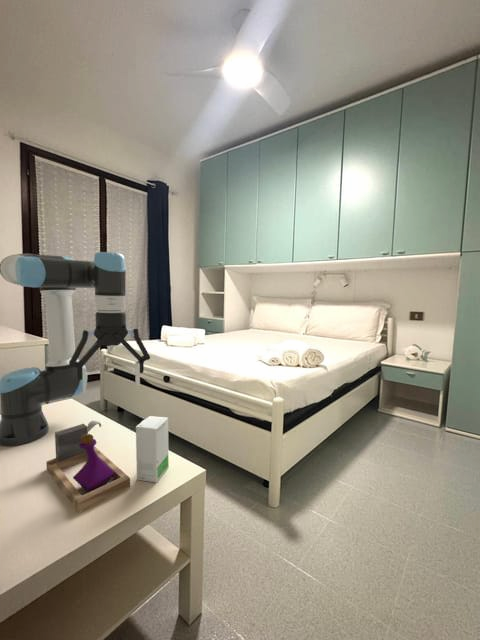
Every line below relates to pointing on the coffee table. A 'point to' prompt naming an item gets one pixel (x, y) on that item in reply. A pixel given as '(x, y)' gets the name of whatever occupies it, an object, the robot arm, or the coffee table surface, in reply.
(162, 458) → the skincare box
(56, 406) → the coffee table surface
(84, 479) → the perfume bottle
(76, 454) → the strip frame
